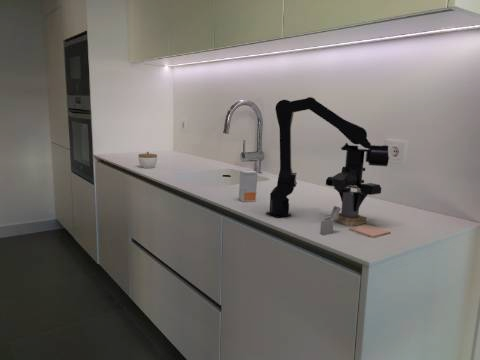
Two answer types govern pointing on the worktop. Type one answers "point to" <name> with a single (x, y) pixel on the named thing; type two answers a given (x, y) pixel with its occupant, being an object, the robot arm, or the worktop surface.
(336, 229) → the worktop surface
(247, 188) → the skincare box
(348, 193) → the dark grey block
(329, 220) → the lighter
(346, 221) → the wooden square frame
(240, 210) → the worktop surface
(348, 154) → the robot arm
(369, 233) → the tile
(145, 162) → the lidded jar
